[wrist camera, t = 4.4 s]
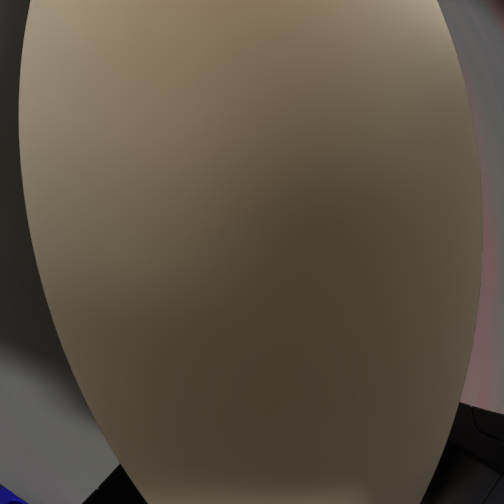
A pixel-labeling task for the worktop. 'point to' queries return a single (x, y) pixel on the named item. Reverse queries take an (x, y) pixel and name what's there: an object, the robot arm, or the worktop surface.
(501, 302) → the worktop surface
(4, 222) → the worktop surface
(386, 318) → the batten
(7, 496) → the cable clip
